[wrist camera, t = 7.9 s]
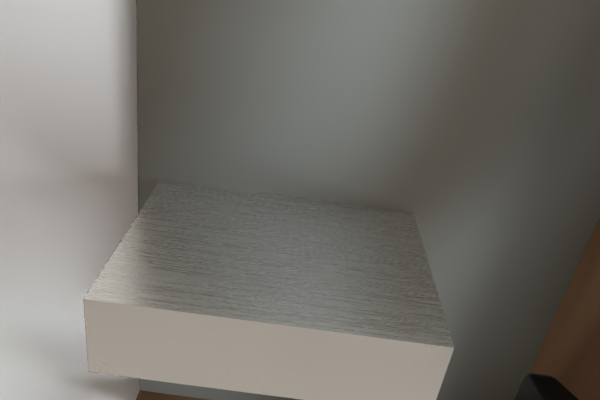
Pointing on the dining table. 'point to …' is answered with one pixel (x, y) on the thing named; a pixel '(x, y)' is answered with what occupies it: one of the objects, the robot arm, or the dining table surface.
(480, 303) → the arena
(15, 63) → the dining table surface
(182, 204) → the white stepped block
